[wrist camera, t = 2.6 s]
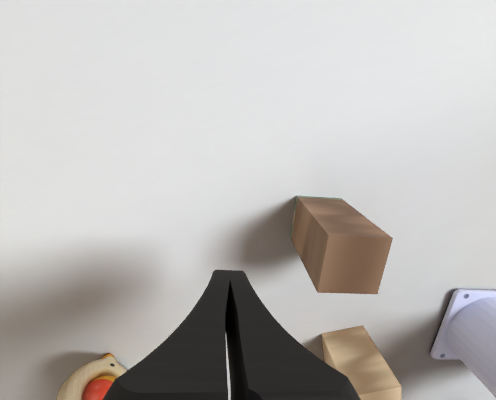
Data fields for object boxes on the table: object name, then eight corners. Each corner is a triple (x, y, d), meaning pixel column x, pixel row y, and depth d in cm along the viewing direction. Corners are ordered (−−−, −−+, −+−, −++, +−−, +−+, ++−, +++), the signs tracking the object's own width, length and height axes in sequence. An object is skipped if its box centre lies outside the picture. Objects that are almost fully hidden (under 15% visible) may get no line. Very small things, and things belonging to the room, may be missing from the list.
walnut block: (341, 198, 21) (392, 238, 15) (332, 239, 22) (377, 294, 16) (296, 195, 21) (328, 235, 14) (290, 237, 22) (317, 292, 15)
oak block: (362, 325, 26) (401, 386, 20) (364, 356, 27) (400, 422, 21) (321, 333, 26) (348, 397, 20) (324, 364, 27) (351, 432, 21)
